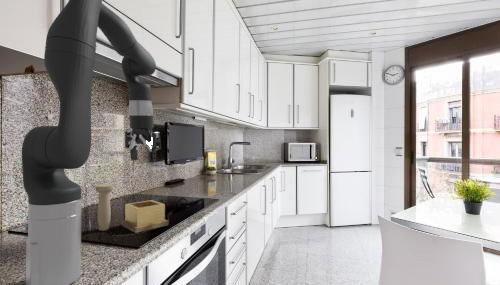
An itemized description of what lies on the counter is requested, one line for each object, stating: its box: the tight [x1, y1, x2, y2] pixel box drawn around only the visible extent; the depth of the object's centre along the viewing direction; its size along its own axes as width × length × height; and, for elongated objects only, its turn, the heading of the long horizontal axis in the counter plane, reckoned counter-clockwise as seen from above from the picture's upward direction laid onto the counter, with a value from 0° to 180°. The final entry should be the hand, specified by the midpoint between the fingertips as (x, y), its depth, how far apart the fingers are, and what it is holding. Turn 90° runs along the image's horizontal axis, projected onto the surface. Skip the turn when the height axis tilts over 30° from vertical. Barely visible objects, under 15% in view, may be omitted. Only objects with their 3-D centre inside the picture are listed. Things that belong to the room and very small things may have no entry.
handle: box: [94, 183, 114, 231], centre depth 91 cm, size 5×6×15 cm
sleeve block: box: [120, 199, 169, 234], centre depth 96 cm, size 12×12×8 cm
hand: (143, 161), depth 93 cm, fingers open, 8 cm apart
